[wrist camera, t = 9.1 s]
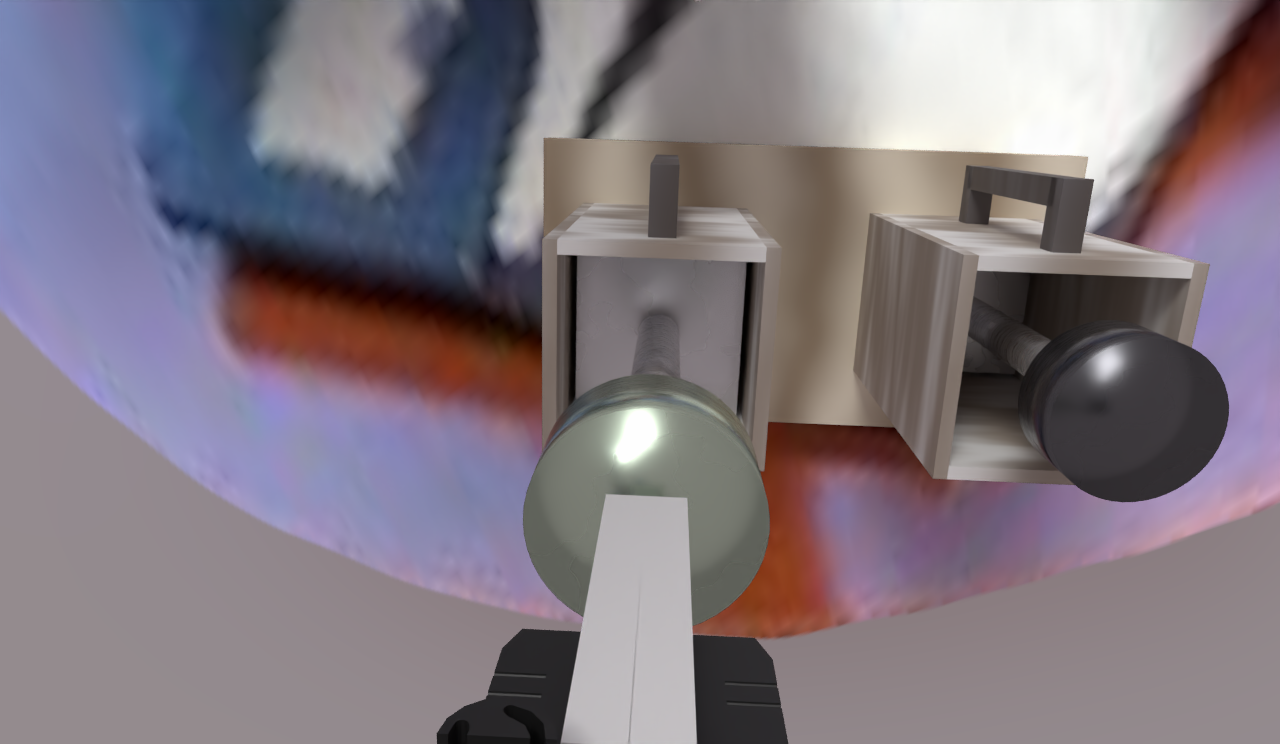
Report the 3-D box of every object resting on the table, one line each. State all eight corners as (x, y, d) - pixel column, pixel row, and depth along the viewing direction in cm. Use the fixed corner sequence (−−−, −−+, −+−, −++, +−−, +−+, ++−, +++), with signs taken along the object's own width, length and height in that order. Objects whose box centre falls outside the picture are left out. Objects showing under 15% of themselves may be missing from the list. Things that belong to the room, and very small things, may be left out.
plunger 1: (577, 403, 35) (491, 654, 18) (579, 245, 33) (485, 367, 16) (734, 409, 35) (790, 670, 18) (745, 252, 33) (819, 380, 16)
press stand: (548, 400, 47) (488, 534, 32) (549, 137, 43) (481, 144, 28) (1024, 420, 46) (1199, 567, 31) (1069, 155, 42) (1294, 172, 27)
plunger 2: (877, 364, 42) (1009, 518, 26) (892, 233, 40) (1044, 309, 24) (1008, 369, 42) (1226, 528, 25) (1029, 239, 40) (1278, 318, 24)
